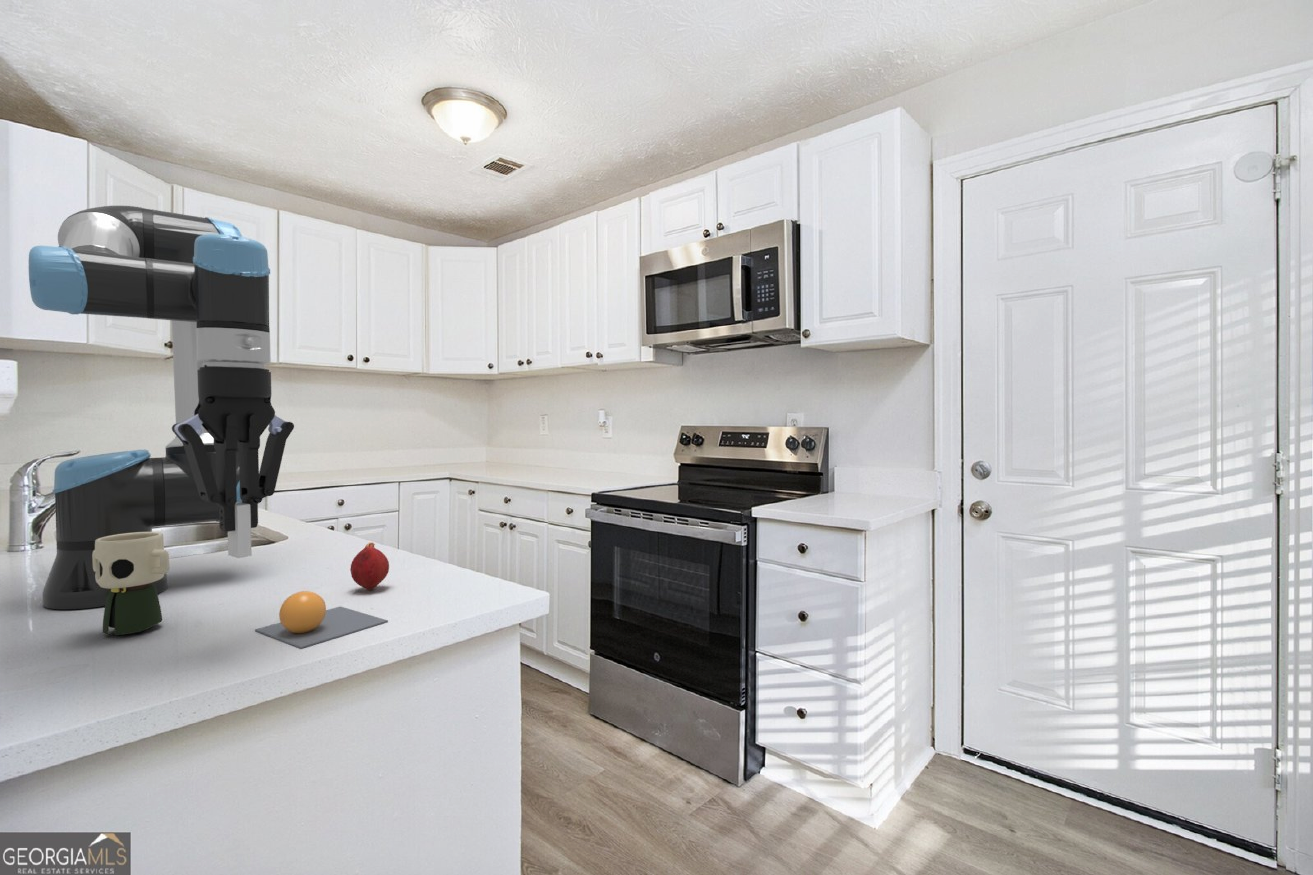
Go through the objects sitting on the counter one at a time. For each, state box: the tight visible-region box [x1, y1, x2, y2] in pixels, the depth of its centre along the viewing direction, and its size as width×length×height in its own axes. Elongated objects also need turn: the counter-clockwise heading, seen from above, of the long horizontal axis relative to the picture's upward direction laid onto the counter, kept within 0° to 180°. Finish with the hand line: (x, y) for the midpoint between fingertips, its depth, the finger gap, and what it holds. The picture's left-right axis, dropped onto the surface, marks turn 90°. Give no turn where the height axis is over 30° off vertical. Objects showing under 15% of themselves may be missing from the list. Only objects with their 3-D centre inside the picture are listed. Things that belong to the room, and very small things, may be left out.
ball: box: [278, 590, 327, 633], centre depth 84 cm, size 6×6×6 cm
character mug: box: [92, 531, 170, 636], centre depth 85 cm, size 11×7×13 cm, turn 85°
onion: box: [350, 541, 390, 591], centre depth 104 cm, size 6×6×8 cm
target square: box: [254, 605, 389, 649], centre depth 87 cm, size 12×12×1 cm
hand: (239, 555), depth 78 cm, fingers closed
